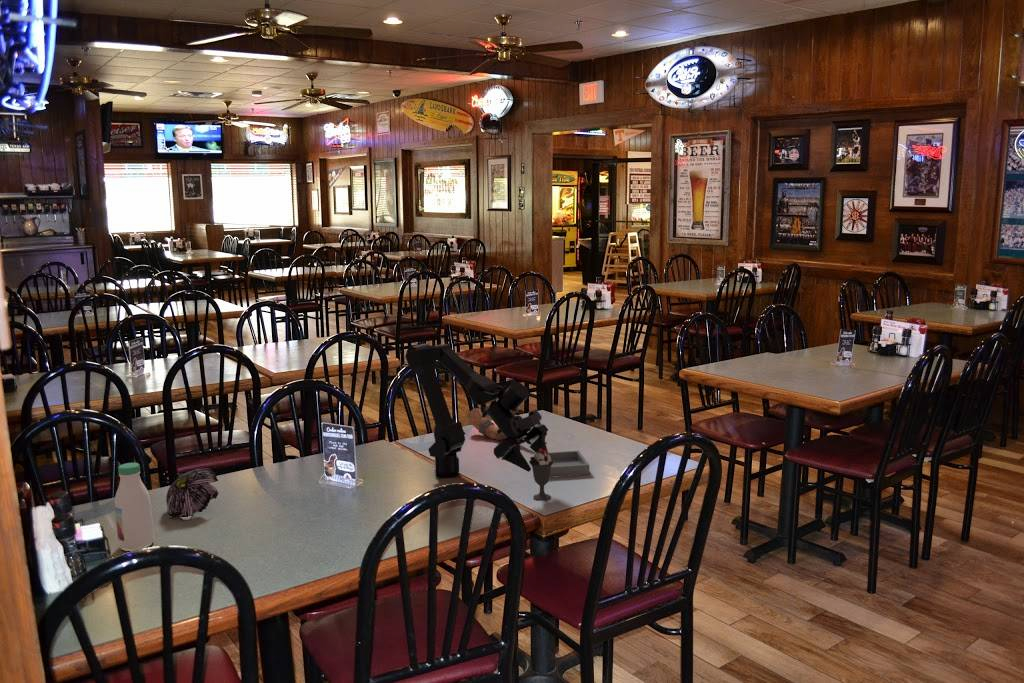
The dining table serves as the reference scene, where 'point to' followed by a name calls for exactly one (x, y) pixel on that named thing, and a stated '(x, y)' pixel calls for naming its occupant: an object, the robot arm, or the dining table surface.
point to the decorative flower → (191, 492)
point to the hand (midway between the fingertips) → (539, 465)
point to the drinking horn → (484, 425)
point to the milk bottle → (133, 509)
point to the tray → (568, 463)
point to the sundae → (541, 471)
